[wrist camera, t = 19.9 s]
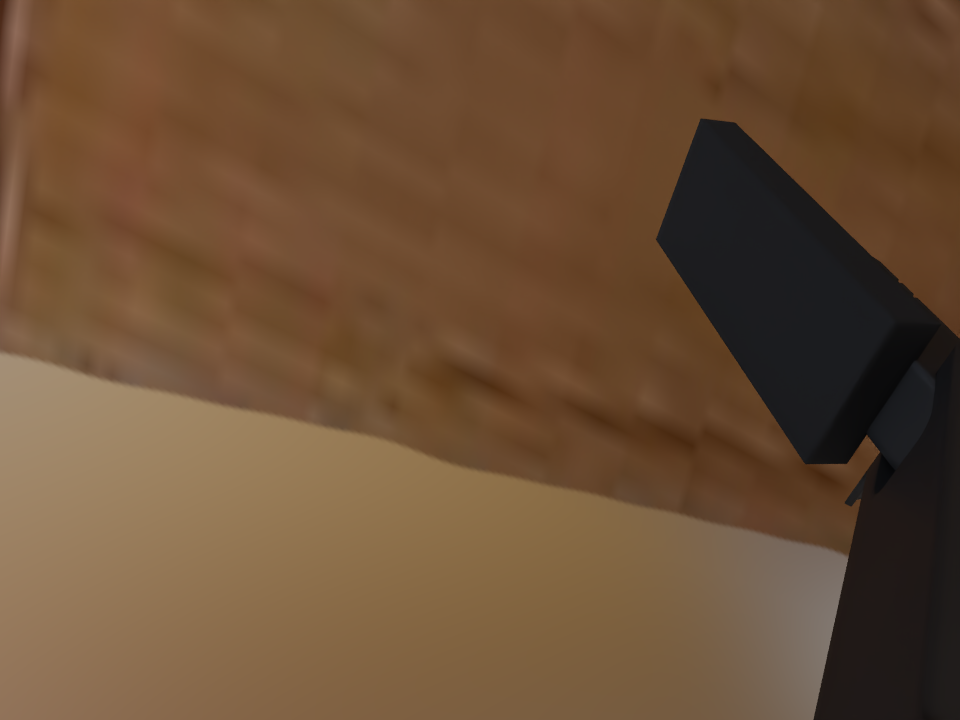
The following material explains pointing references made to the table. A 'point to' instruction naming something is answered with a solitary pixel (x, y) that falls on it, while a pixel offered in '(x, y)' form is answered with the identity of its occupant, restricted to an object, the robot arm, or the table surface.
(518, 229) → the table surface
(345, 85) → the table surface
